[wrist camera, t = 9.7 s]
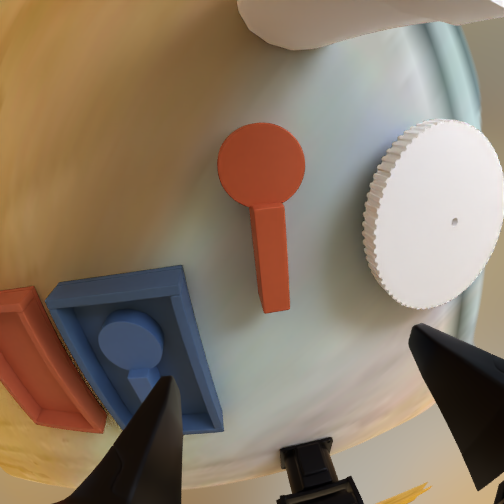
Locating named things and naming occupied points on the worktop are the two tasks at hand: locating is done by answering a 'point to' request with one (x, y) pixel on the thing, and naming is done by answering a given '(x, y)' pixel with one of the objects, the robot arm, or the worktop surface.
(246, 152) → the terracotta spoon
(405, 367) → the worktop surface
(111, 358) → the blue spoon
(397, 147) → the plastic lid
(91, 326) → the blue tray
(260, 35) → the foam cup
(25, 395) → the terracotta tray
